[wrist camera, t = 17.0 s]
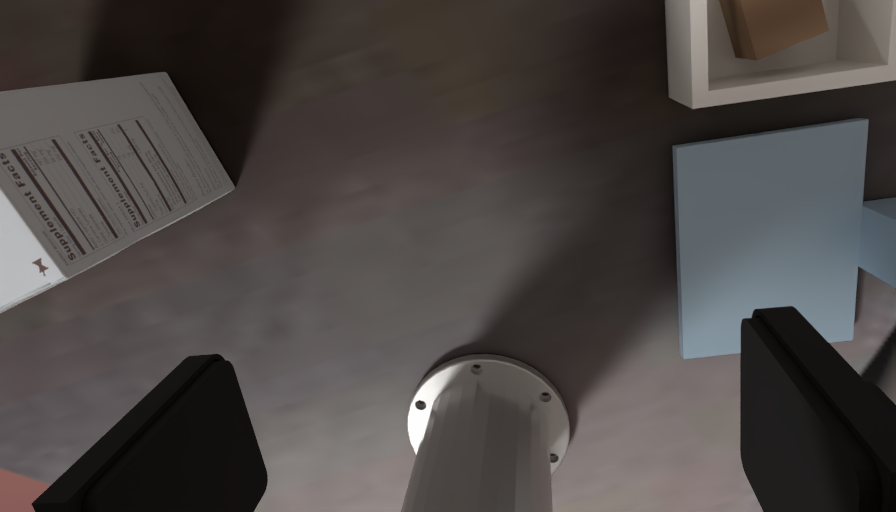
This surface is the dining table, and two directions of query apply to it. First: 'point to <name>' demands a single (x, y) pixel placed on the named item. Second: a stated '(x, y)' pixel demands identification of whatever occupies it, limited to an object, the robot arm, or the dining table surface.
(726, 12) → the part cube
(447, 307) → the dining table surface
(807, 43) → the tub
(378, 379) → the dining table surface
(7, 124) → the supplement box
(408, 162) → the dining table surface
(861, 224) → the lid
